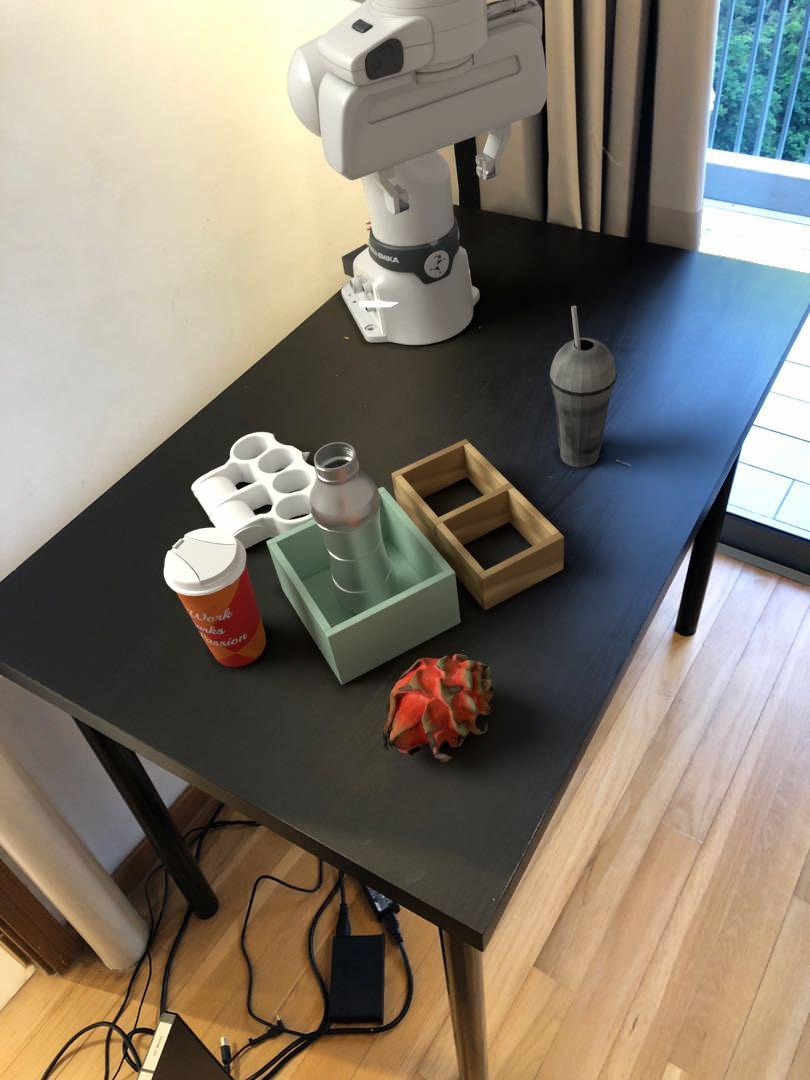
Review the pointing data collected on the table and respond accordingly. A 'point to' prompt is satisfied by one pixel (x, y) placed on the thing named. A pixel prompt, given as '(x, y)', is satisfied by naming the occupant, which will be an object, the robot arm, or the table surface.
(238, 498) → the knuckle duster
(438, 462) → the rack
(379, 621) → the open storage box
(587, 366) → the beverage cup
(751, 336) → the table surface
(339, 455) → the silver metal bottle
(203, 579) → the paper cup
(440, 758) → the dragon fruit
